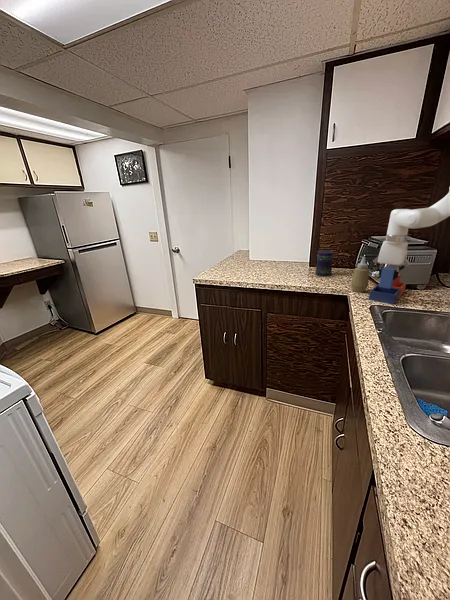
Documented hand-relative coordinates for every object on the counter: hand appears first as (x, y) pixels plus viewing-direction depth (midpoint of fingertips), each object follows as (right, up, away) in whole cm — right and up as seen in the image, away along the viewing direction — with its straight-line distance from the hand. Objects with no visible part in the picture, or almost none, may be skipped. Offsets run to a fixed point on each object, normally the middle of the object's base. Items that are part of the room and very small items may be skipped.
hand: (387, 277), depth 116 cm
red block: (+9, -6, +12) cm, 16 cm away
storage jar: (-12, +6, +47) cm, 49 cm away
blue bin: (0, -10, +4) cm, 11 cm away
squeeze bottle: (-5, -6, +16) cm, 17 cm away
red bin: (+9, -6, +12) cm, 16 cm away
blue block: (0, -4, +2) cm, 4 cm away
